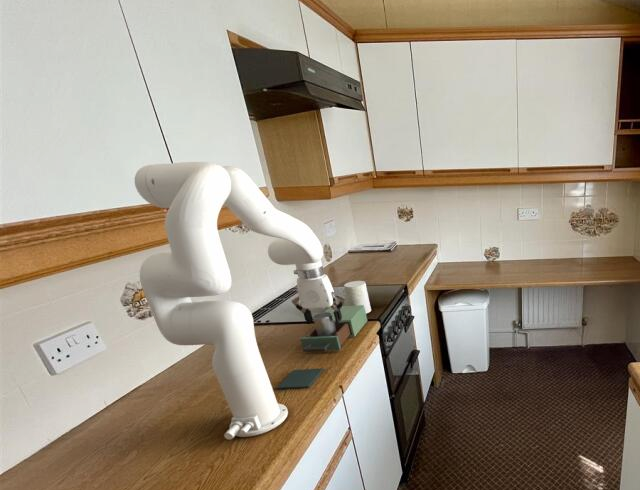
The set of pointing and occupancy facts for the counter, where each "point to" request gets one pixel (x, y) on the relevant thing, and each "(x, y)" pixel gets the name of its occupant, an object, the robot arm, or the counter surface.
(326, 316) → the metallic grey cylinder
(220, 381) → the robot arm
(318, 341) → the drawer
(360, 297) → the cup
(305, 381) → the mat
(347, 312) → the cabinet
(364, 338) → the counter surface
